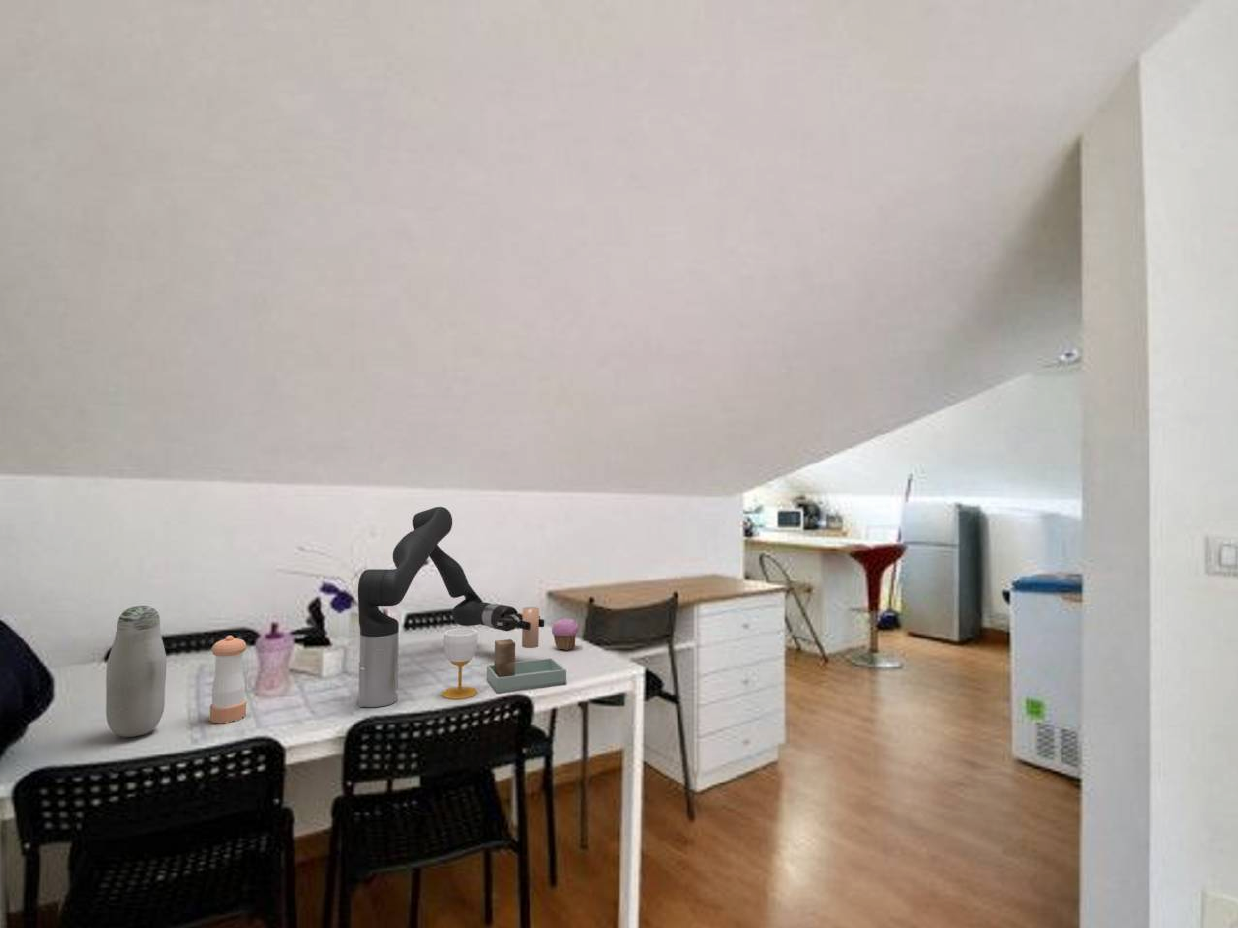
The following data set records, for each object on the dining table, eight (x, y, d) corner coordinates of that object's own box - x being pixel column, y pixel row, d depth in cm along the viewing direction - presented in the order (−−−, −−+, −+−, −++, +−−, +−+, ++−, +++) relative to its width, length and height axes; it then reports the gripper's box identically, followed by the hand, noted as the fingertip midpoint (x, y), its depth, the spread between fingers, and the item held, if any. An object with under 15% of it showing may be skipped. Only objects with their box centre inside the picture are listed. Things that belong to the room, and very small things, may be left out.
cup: (440, 689, 171) (441, 629, 171) (474, 686, 174) (475, 626, 174) (443, 700, 162) (444, 637, 162) (479, 696, 165) (480, 634, 166)
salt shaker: (206, 717, 150) (207, 635, 150) (241, 709, 155) (242, 630, 155) (213, 726, 144) (215, 641, 145) (249, 718, 150) (251, 636, 150)
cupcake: (583, 647, 213) (583, 617, 214) (569, 653, 206) (569, 622, 206) (560, 644, 218) (561, 614, 218) (546, 650, 210) (546, 619, 210)
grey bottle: (93, 742, 136) (97, 610, 136) (137, 723, 146) (140, 601, 146) (134, 745, 134) (137, 612, 135) (175, 726, 144) (177, 602, 145)
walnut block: (498, 685, 172) (498, 644, 172) (494, 680, 176) (494, 640, 176) (514, 683, 174) (515, 642, 174) (510, 678, 178) (510, 638, 178)
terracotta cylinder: (524, 648, 186) (525, 610, 186) (520, 644, 190) (520, 607, 190) (540, 647, 187) (541, 609, 188) (535, 643, 192) (536, 606, 192)
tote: (497, 693, 168) (497, 678, 168) (486, 679, 179) (486, 665, 179) (565, 684, 176) (566, 669, 176) (551, 671, 187) (551, 658, 187)
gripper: (481, 607, 193) (518, 615, 182) (517, 602, 204) (554, 608, 193) (480, 632, 193) (517, 642, 182) (517, 625, 204) (554, 633, 192)
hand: (536, 624), depth 187 cm, fingers closed on terracotta cylinder, 4 cm apart
